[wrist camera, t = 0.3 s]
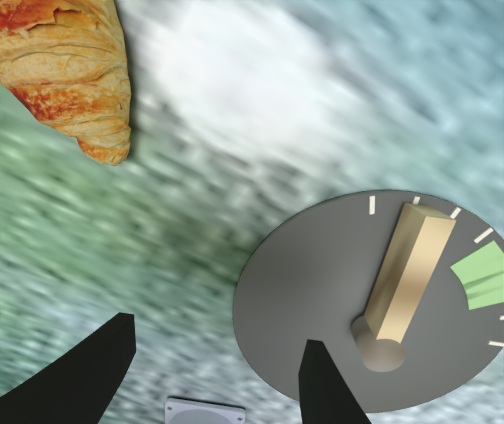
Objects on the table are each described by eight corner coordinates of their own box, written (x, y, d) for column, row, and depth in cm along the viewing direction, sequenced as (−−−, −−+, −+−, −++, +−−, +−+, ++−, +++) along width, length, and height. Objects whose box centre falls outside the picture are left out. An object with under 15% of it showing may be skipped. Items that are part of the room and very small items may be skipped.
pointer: (382, 344, 19) (397, 374, 17) (346, 339, 19) (356, 368, 17) (441, 207, 15) (470, 223, 13) (395, 201, 15) (416, 216, 13)
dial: (443, 418, 24) (450, 429, 23) (223, 386, 24) (222, 395, 23) (574, 213, 16) (590, 219, 15) (250, 169, 16) (249, 172, 16)
